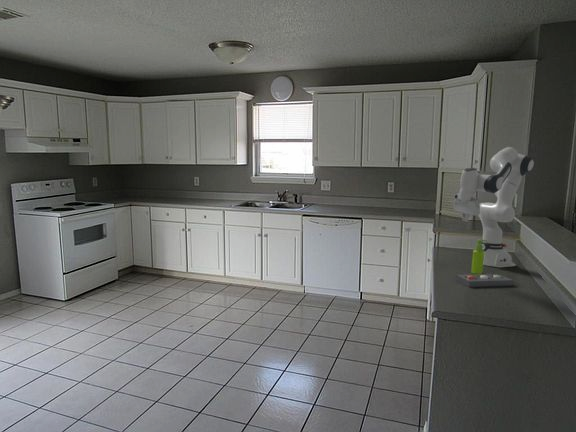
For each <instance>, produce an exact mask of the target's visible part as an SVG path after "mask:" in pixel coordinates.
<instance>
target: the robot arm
mask: <svg viewBox="0 0 576 432" xmlns="http://www.w3.org/2000/svg"><path fill="white" fill-rule="evenodd" d="M534 164H535V160H534V158H533V157H532V156H529V155H524V154H521V153H518V150H517V149H516V148H515V147H512V146H506V147H504V148H503V149H501V150H500V151H498V152H496V154H494V155H493V156H492V157H491V159H490V160H489V166H490V169H491V170H492V171H493V172H494V173H495V174H481V173H480V172H478V168H474V167H469V168H464V169H463V170H462V172H461V176H460V183H459V185H460V189H459V192H458V193H455V194H454V195H453V199H454V200H453V205H452V207H453V208H452V209H453V211H454V212H458V213H461V214H460V215H461V218H462V219H461V220H462V222H466V223H467V222H469V219H470V216H478V218H479V219H480V222H481V226H482V240H486V241H487V242H485V241H481V245H482V251H484V260H483V266H488V267H495V268H506V267H507V268H508V267H516V264H515V262H512V261H513V259H512V255H511V254H510V253H508V251H506V250H505V249H504V248H507V247H508V244H506V243H502V241H503V230H502V228H501V227H500V226H499V224H498V222H499V223H511V222H512V221H513V220H514V219H515V217H516V211H515V209H514V207H513V200H514V198H515V195H516V193H517V191H518V189H519V187H520V185H521V182H522V179H523V176H525V175H527V174H528V173H530V172H532V170H533V168H534ZM477 192H485V193H491V194H494V195H495V197H496V198H497V199H496V202H495V203H493V202H481V203H480V200H479V198H477Z"/></svg>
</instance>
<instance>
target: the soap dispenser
mask: <svg viewBox="0 0 576 432" xmlns="http://www.w3.org/2000/svg"><path fill="white" fill-rule="evenodd" d="M482 239H483V238H482ZM482 239H479V238H478V239H476V241H477V244H476V246H475V249H474V250H473V251H472V259H471V260H472V261H471V270H470V273H471V274H483V267H484V265H483V260H484V251H482V245H481V242H482V241H485V242H487V241H486V240H482Z"/></svg>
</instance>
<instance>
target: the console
mask: <svg viewBox="0 0 576 432" xmlns="http://www.w3.org/2000/svg"><path fill="white" fill-rule="evenodd" d="M481 275H485V276H488V279H482V278H480V276H481ZM493 275H499V276H501V278H497V279H496V278H494V277H493ZM467 276H474V277H475V279H468V278H467ZM455 281H457V282H458V283H460V284H462V285H463V286H465V287H468V288H477V287H507V286H510V287H511V286H513V285H514V280H513V279H512V278H509V277H507V276H505V275H502V274H500V273H482V274H474V273H471V274H456V275H455Z"/></svg>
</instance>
